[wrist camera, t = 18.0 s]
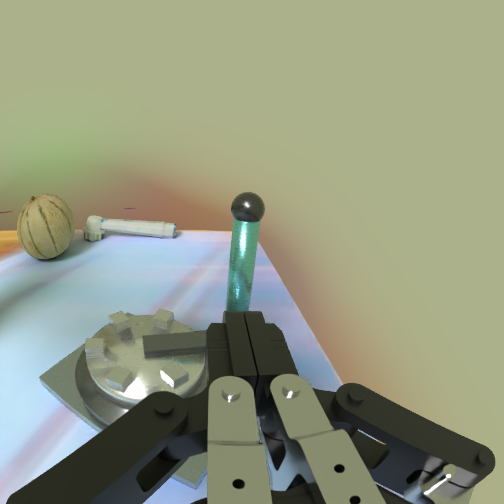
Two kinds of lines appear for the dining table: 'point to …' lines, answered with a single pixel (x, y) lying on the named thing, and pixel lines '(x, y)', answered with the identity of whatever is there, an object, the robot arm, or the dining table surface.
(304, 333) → the dining table surface
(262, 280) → the dining table surface
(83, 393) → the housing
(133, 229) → the beige piece
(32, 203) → the cantaloupe
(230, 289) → the crank handle wheel
